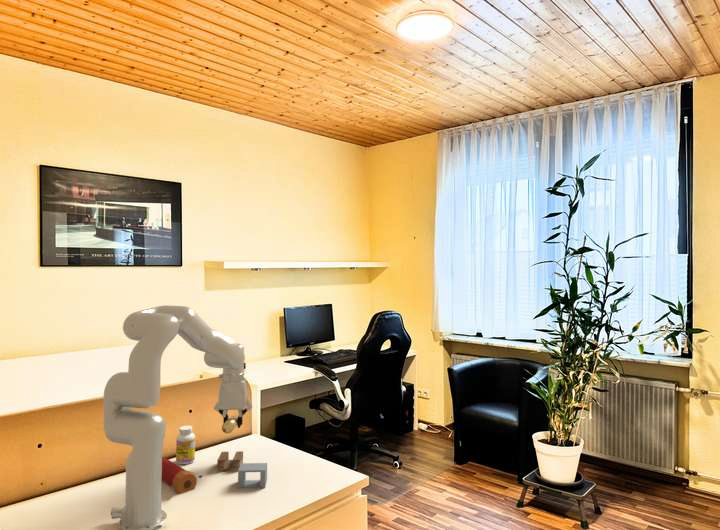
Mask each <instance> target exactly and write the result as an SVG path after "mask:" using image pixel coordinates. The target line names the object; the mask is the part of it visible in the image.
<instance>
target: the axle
mask: <svg viewBox="0 0 720 530" xmlns="http://www.w3.org/2000/svg"><path fill="white" fill-rule="evenodd" d="M238 416H239V415H237V414H233V415H231V416H230V417H228V420H227V421H226V422H225V423H224V424H222V425H221V431H222V432H223V433H224V434H225V435H226V434H227V435H228V434H230V433H232V432H233V431H234V430H235V429H236V428H237V427H238Z"/></svg>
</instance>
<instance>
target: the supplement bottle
mask: <svg viewBox="0 0 720 530" xmlns="http://www.w3.org/2000/svg"><path fill="white" fill-rule="evenodd" d="M175 444H176V445H175V447H176V449H175V450H176V451H175V462H176V464H177V465H181V464H186V465H189V463H190V464H192V463H194V462H195V459H196V458H195V457H196V456H195V455H196V453H195V452H196V435H195V433H193V426H192V425H183V426H180V427H179V434H178V435H176V442H175Z"/></svg>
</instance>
